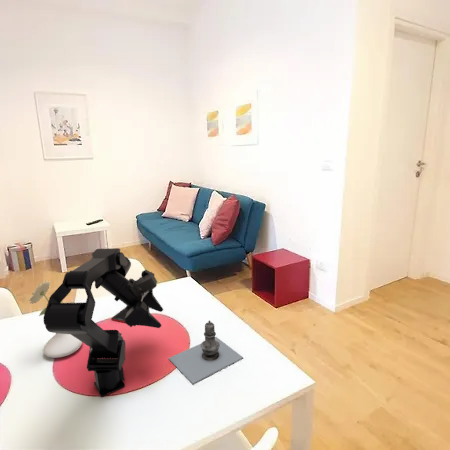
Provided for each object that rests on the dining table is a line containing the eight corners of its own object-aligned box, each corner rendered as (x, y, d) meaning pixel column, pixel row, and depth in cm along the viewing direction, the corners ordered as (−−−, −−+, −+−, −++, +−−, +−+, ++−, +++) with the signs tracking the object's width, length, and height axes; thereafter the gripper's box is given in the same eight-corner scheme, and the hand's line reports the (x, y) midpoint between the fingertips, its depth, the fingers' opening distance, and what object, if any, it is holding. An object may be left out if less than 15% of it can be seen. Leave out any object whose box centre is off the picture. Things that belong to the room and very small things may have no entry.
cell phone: (149, 306, 134) (149, 304, 134) (127, 324, 121) (127, 322, 121) (133, 303, 137) (133, 301, 137) (110, 321, 123) (109, 318, 123)
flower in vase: (68, 336, 113) (58, 268, 107) (90, 346, 108) (81, 274, 102) (31, 357, 103) (17, 282, 96) (52, 369, 97) (39, 291, 91)
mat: (192, 384, 90) (192, 383, 90) (168, 359, 100) (168, 358, 100) (243, 358, 100) (243, 357, 100) (216, 337, 111) (216, 336, 111)
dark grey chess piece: (217, 362, 98) (216, 326, 95) (198, 360, 99) (197, 324, 96) (222, 350, 103) (221, 316, 100) (204, 348, 105) (202, 314, 102)
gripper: (134, 279, 84) (179, 315, 88) (142, 255, 102) (179, 286, 106) (105, 310, 85) (151, 343, 89) (118, 280, 103) (156, 310, 107)
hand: (161, 318), depth 98 cm, fingers open, 9 cm apart
